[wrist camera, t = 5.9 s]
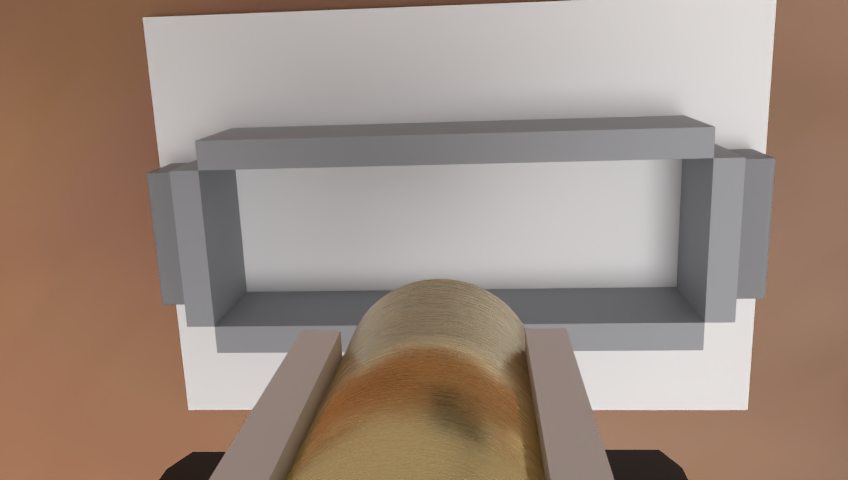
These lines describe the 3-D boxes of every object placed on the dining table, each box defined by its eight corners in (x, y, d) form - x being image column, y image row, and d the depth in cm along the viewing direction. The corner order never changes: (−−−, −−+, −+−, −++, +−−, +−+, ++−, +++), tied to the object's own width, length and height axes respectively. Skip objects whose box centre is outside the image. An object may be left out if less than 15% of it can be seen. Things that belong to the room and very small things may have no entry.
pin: (341, 280, 16) (211, 483, 9) (534, 276, 16) (581, 482, 8) (353, 456, 17) (247, 782, 10) (538, 455, 17) (582, 793, 9)
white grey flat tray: (153, 18, 30) (91, 13, 26) (766, -7, 29) (825, -16, 24) (196, 399, 34) (150, 458, 30) (739, 399, 33) (784, 461, 28)
